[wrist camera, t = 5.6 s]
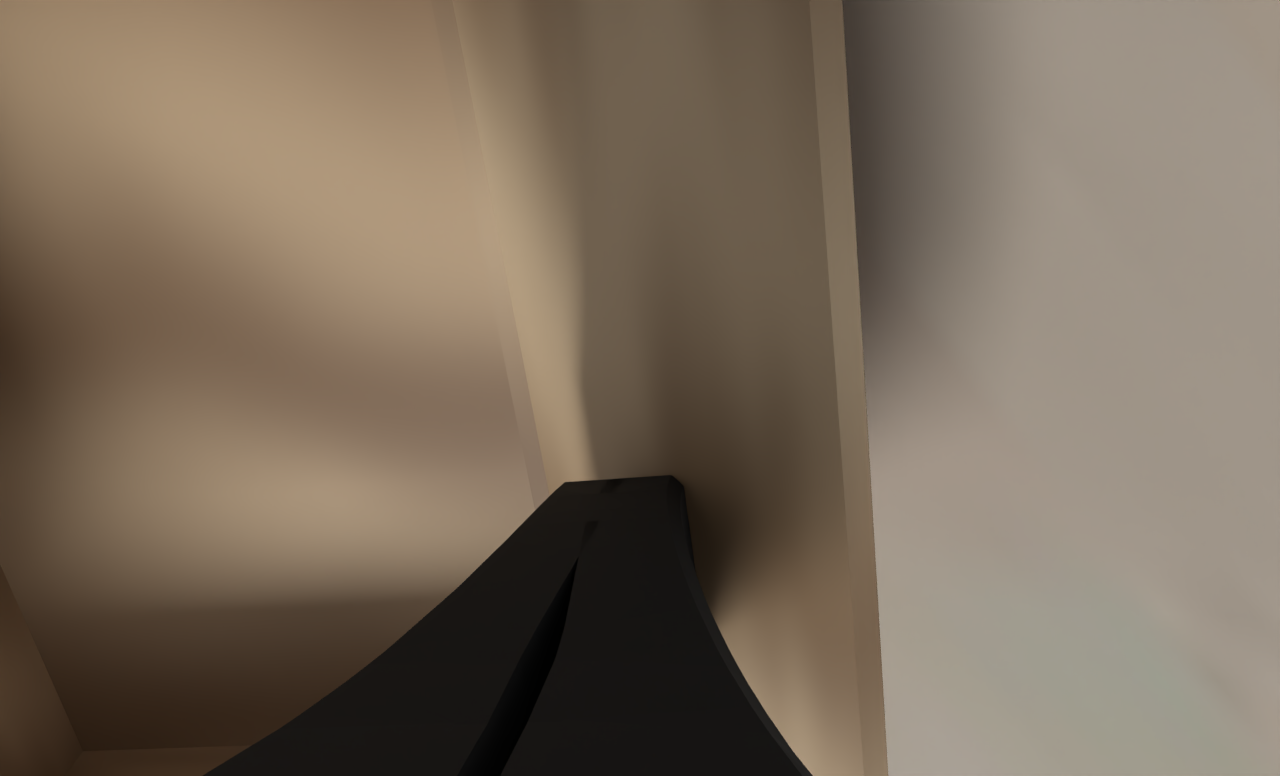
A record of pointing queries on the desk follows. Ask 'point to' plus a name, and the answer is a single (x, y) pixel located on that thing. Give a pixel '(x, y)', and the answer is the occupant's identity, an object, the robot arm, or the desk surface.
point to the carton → (238, 366)
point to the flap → (702, 310)
